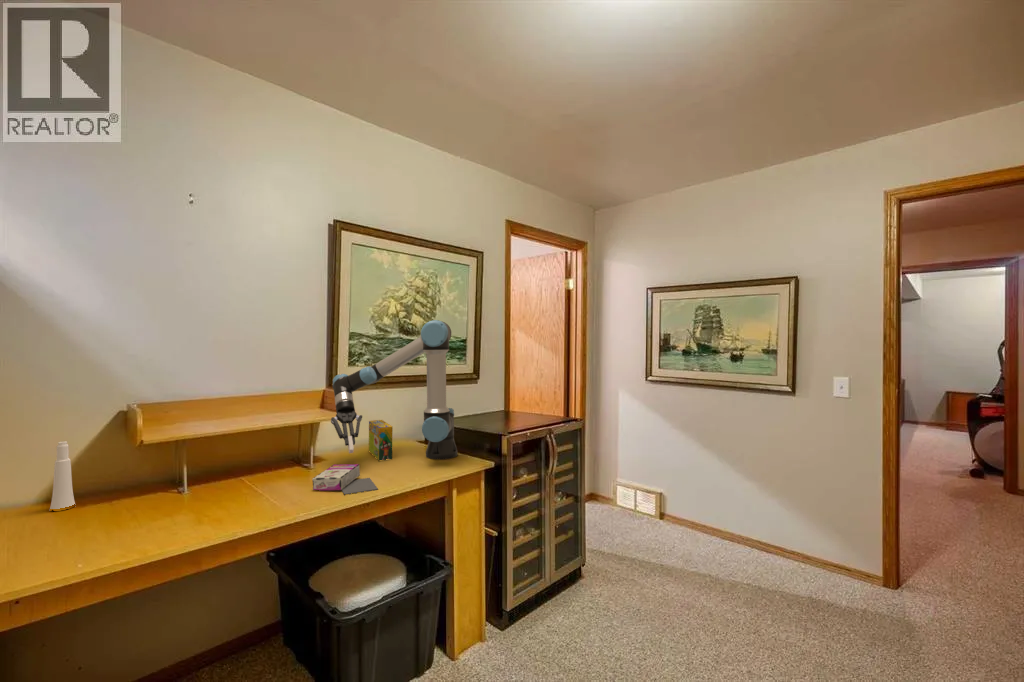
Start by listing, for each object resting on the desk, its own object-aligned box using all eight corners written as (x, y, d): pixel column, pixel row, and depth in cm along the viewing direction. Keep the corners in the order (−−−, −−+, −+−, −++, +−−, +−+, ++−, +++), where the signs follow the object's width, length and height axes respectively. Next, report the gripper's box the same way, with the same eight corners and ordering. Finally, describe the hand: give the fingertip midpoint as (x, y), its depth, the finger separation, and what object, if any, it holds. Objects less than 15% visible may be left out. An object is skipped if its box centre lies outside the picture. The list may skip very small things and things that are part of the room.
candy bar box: (334, 476, 181) (312, 491, 165) (333, 464, 181) (311, 477, 165) (360, 476, 180) (341, 490, 164) (360, 463, 180) (340, 477, 163)
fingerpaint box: (393, 459, 208) (393, 425, 208) (378, 461, 205) (378, 427, 204) (382, 450, 224) (382, 419, 224) (368, 452, 221) (368, 420, 221)
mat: (369, 478, 179) (369, 477, 179) (378, 489, 166) (378, 488, 166) (337, 483, 173) (337, 482, 173) (344, 495, 160) (344, 494, 160)
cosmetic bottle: (78, 507, 148) (78, 441, 148) (53, 513, 143) (52, 445, 142) (71, 503, 151) (71, 439, 151) (46, 509, 146) (46, 442, 146)
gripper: (358, 409, 201) (366, 454, 187) (328, 411, 195) (333, 458, 180) (361, 398, 196) (369, 444, 182) (329, 400, 190) (335, 448, 176)
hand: (351, 451), depth 181 cm, fingers closed
